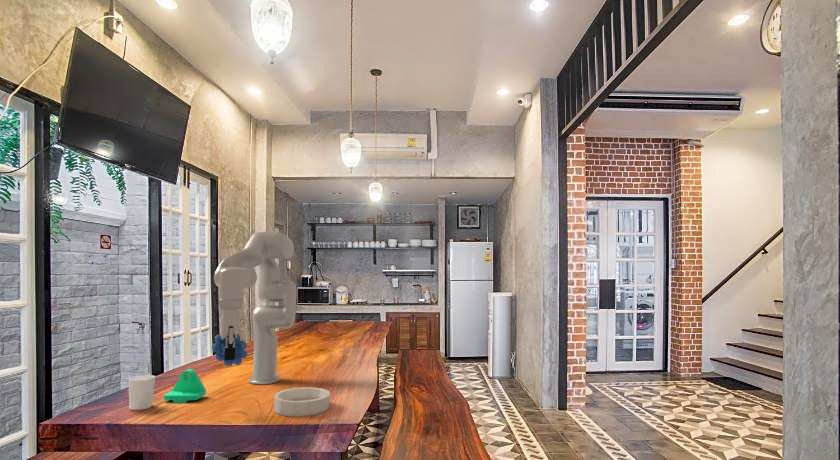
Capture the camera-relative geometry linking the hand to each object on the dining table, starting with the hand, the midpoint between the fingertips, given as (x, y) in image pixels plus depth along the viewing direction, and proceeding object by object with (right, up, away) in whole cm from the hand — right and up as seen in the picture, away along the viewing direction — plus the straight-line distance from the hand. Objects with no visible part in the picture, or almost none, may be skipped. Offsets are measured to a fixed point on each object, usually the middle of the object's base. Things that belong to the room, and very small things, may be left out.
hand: (228, 357), depth 162 cm
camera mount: (-21, -19, +12) cm, 30 cm away
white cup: (-31, -18, +2) cm, 36 cm away
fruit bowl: (+24, -18, +2) cm, 30 cm away
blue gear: (0, -3, 0) cm, 3 cm away
